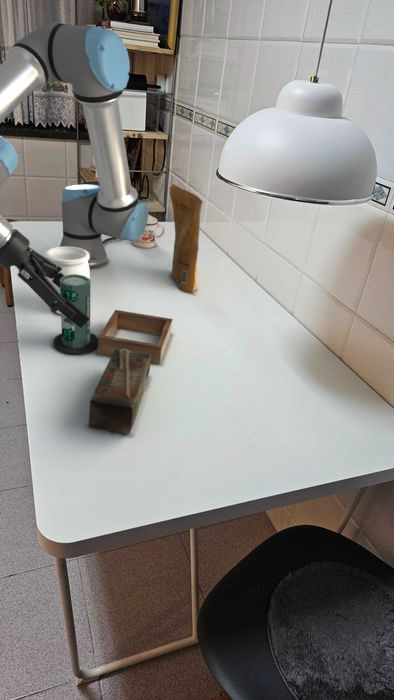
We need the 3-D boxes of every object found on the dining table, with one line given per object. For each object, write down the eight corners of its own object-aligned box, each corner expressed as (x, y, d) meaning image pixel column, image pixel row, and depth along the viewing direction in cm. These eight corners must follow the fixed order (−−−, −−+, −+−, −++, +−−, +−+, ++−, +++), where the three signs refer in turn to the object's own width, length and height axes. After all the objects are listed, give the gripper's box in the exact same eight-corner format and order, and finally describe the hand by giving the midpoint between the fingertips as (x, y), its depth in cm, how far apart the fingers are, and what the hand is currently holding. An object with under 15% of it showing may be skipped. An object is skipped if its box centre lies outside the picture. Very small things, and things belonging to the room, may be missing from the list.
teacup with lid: (133, 248, 167) (134, 215, 161) (129, 239, 174) (130, 207, 168) (166, 248, 170) (169, 216, 164) (161, 240, 178) (163, 209, 172)
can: (61, 335, 109) (59, 274, 101) (88, 333, 111) (87, 274, 103) (63, 348, 104) (61, 286, 96) (91, 347, 106) (91, 285, 98)
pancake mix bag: (180, 296, 136) (191, 198, 122) (161, 271, 151) (168, 181, 137) (202, 295, 139) (214, 199, 124) (180, 270, 153) (190, 181, 139)
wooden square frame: (114, 325, 117) (115, 309, 115) (171, 334, 116) (172, 318, 114) (97, 354, 105) (97, 337, 103) (160, 364, 104) (161, 347, 102)
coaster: (63, 329, 112) (63, 327, 112) (104, 336, 112) (104, 334, 112) (46, 350, 104) (46, 348, 103) (90, 358, 103) (91, 355, 103)
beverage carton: (150, 376, 100) (152, 350, 96) (131, 437, 83) (133, 407, 80) (113, 371, 100) (114, 344, 96) (87, 430, 83) (87, 400, 80)
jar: (79, 321, 117) (79, 264, 109) (40, 313, 118) (37, 256, 110) (96, 304, 126) (96, 250, 118) (59, 297, 127) (57, 243, 119)
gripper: (-10, 234, 102) (64, 295, 114) (-16, 280, 82) (75, 348, 94) (14, 210, 101) (86, 274, 113) (15, 251, 81) (102, 324, 93)
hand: (81, 308), depth 104 cm, fingers open, 13 cm apart
